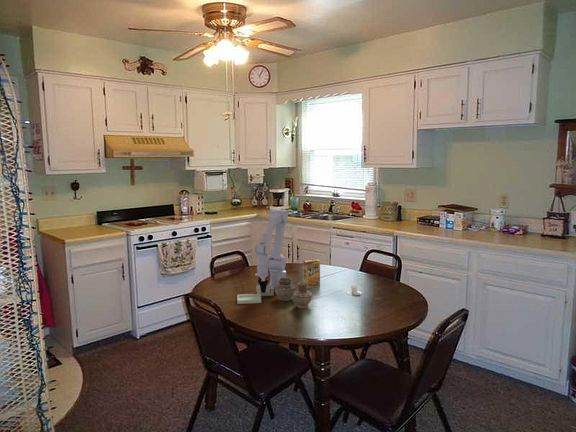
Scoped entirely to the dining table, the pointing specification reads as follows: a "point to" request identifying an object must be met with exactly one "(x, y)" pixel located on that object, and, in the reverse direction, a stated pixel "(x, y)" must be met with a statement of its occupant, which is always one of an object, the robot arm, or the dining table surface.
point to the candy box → (312, 272)
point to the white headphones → (354, 291)
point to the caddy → (260, 289)
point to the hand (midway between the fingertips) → (263, 290)
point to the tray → (248, 298)
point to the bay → (268, 292)
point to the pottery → (293, 292)
